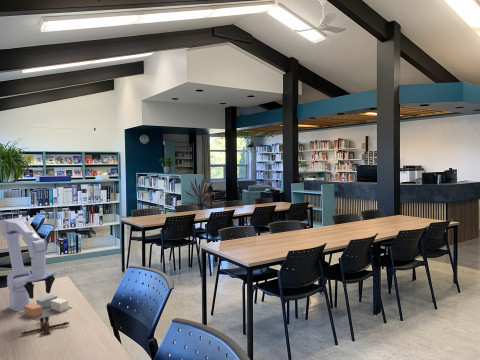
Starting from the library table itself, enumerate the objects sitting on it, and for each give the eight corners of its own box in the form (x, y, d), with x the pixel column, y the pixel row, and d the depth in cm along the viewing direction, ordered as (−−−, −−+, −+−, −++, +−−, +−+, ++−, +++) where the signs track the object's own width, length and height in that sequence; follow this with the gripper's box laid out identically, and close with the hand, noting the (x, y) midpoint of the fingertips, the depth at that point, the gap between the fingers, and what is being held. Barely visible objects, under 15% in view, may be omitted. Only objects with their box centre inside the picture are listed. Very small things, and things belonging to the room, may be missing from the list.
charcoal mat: (18, 313, 170) (17, 313, 170) (53, 301, 184) (53, 301, 184) (37, 321, 161) (37, 320, 161) (73, 308, 175) (72, 307, 175)
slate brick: (41, 309, 174) (41, 301, 174) (36, 308, 176) (36, 299, 176) (57, 304, 180) (57, 296, 180) (52, 302, 183) (52, 294, 182)
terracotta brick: (24, 314, 169) (24, 305, 168) (33, 311, 172) (32, 302, 172) (33, 317, 164) (33, 309, 164) (42, 314, 168) (42, 306, 168)
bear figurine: (66, 311, 165) (70, 319, 152) (67, 321, 164) (70, 329, 152) (20, 321, 155) (20, 330, 143) (20, 331, 155) (20, 341, 143)
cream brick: (51, 308, 175) (50, 300, 174) (58, 305, 178) (58, 297, 178) (60, 311, 170) (60, 303, 170) (68, 308, 174) (68, 300, 174)
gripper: (26, 271, 157) (28, 302, 158) (58, 263, 169) (60, 292, 170) (18, 269, 161) (19, 299, 161) (50, 261, 173) (51, 289, 174)
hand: (39, 295), depth 166 cm, fingers open, 7 cm apart
